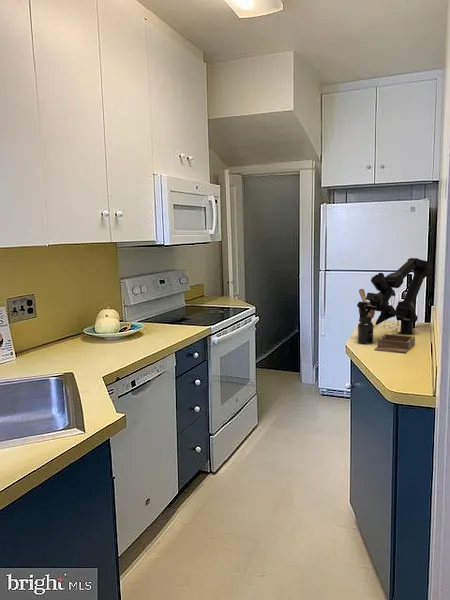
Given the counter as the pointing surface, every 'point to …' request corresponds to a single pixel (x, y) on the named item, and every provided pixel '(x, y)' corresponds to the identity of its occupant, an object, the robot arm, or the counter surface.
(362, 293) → the mortar and pestle
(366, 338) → the supplement bottle
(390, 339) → the walnut tray
